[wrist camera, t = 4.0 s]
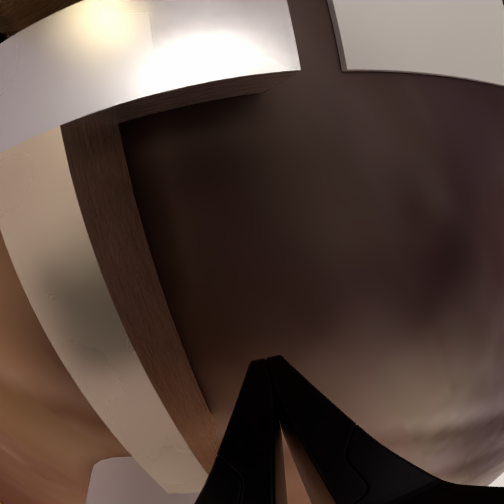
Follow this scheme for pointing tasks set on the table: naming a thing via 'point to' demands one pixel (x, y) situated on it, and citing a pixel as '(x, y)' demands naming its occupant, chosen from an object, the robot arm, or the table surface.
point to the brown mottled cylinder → (27, 13)
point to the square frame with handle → (119, 197)
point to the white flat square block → (422, 37)
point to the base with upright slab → (129, 485)
